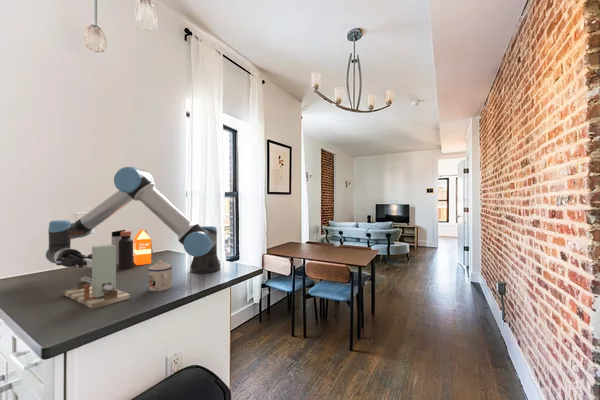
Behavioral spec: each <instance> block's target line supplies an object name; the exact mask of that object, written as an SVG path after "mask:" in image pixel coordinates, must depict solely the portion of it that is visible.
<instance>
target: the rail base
mask: <svg viewBox="0 0 600 400" xmlns="http://www.w3.org/2000/svg"><path fill="white" fill-rule="evenodd" d="M63 292H64V293H63V295H64V296H66V297H68V298H70V299H72V300H74V301H77V302H78V303H80V302H81V303H80V304H82V303H83V304H82V305H84V304H85V306H86V305H87V307H88V308H91V309H98V308H101V307H104V306H109V305H113V304H115V303H118V302H123V301H126V300H129V299H131V294H130V293H127V292H126V291H122V290H119V289H117V288H116V290H113V291H112V292H109V291H108V292H104V296H101V297H94V296H92V285H91V284H88V283H85V282H82V281H78V282H77V287H76V288H72V289H67V290H64V291H63Z"/></svg>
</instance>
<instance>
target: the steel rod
mask: <svg viewBox="0 0 600 400" xmlns="http://www.w3.org/2000/svg"><path fill="white" fill-rule="evenodd" d="M80 282H85V283H88V284H90V285H92V277H91V278H90V277H87V276H85V275H84V276H82V277H80ZM102 289H104V290H107V291H109V292H112V291H113V290H114V286H111V285H108V284H106V283H105V284H102Z"/></svg>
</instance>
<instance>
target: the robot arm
mask: <svg viewBox="0 0 600 400" xmlns="http://www.w3.org/2000/svg"><path fill="white" fill-rule="evenodd" d="M113 184H114V186H115V188H116V189H117V191H116V192H115V193H113V194H112V195H110V196H109V197H107V198H106V199H105V200H104V201H102V202H101V203H100V204H98V205H97V206H95V207H94V208H93V209H91V210H89V211H88V212H87V213H86V214H85V215H83V216H81V217H80V218H79V219H78V220H76V221H75V222H71V221H70V220H68V219H67V220H66V219H62V220H58V219H57V220H51V221H49V224H48V249H47V250H46V252H45V258H46V260H48V262H50V263H52V264H56V266H63V267H65V268H73V267H75V268H76V267H77V266H78V268H83V267H86V268H91V269H92V253H90V254H87V255H85V254H82V252H81V251H80V250H78V249H74V248H71V242H72V240H73V239H74V240H75V239H79V238H84V237H87V236H89V235H91V233H92V231H93V229H95V228H97V226H100V224H101V223H103V222H105V221H106V220H108V219H109V218H110V217H112V216H113V215H115V213H117V212H119V210H120V211H121V209H122V208H124V207H126V205H128V204H129V203H130V202H132V201H136V202H138V201H139V202H141V204H143V205H144V206H145V207H146V208H147V209H148V210H150V211H151V212H152V213H153V214H154V215H155V216H156V217H157V218H158V219H159V220H160V221H161V222H163V224H165V225H166V226H167V227H168V228H169V229H170V230H171V231H172V232H173V233H175V235H176V236H177V237H178V238H177V240H178V242H179V243H180V244H181V245H182V246H183V249H184V251H185V252H186V253H187V255H189V256H192V261H191V263H190V266H189V267H190V268H189V272H190V273H193V274H209V273H210V274H211V273H215V272H218V271H220V270H221V263H220V260H219V257H218V242H217V241H218V236H217V235H218V231H217V227H216V226H209V225H207V226H206V225H202V226H201V225H200V224H199V223H197V222H192V221H191V220H189V218H187V216H185V215H184V213H182V212H181V211H180V210H179V209H178V208H177V207H176V206H175V205H173V204H172V202H170V201H169V200H168V199H167V198H166V197H165V196H164V195H163V194H162V193H160V191H159V190H158V189H156V183H155V181H154V178H153V176H152V174H151V173H149V171H147V170H144V169H140V168H137V167H134V166H125V167H122V168H120V169H118V170H117V172H115V174H114V177H113Z"/></svg>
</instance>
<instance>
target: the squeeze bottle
mask: <svg viewBox="0 0 600 400" xmlns="http://www.w3.org/2000/svg"><path fill="white" fill-rule="evenodd" d="M144 231H145V232H146V234H147V235H148V236H149V237H150V238H151V236H150V235H149V234H148V229H147V230H146V229H145V230H144ZM153 253H154V251H153V241H152V240H151V257H153Z"/></svg>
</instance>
